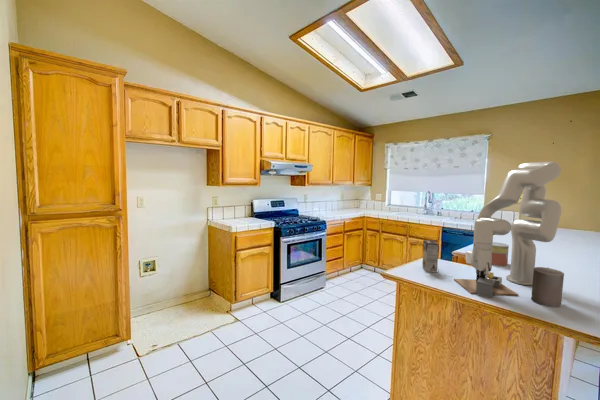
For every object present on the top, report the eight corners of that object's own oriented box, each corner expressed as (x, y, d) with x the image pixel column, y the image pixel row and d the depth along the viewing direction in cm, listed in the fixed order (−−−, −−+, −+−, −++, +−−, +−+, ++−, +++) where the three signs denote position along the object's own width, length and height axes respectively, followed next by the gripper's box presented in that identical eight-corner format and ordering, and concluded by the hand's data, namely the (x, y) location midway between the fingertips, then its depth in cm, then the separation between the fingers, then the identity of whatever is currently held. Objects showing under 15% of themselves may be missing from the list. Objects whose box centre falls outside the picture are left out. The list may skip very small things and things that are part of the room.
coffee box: (421, 266, 166) (422, 239, 165) (433, 267, 165) (434, 240, 164) (425, 271, 157) (426, 243, 156) (437, 272, 156) (439, 243, 155)
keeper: (478, 289, 132) (479, 277, 132) (494, 293, 128) (495, 280, 128) (475, 294, 127) (476, 281, 126) (491, 298, 123) (492, 284, 123)
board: (495, 282, 142) (496, 280, 142) (518, 296, 125) (518, 294, 125) (454, 280, 144) (454, 278, 144) (470, 293, 127) (470, 292, 127)
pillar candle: (525, 297, 124) (527, 264, 122) (545, 296, 124) (548, 263, 123) (545, 308, 114) (549, 272, 113) (568, 307, 115) (571, 271, 113)
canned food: (508, 267, 166) (509, 247, 165) (485, 264, 172) (486, 244, 171) (507, 262, 175) (508, 243, 174) (485, 259, 181) (486, 241, 180)
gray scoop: (485, 280, 142) (485, 274, 142) (501, 283, 137) (502, 277, 137) (477, 290, 129) (477, 283, 129) (495, 294, 125) (495, 287, 125)
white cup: (462, 261, 177) (462, 250, 177) (472, 261, 178) (473, 250, 177) (469, 264, 170) (470, 253, 170) (480, 264, 171) (481, 253, 170)
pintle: (491, 282, 140) (491, 272, 139) (493, 283, 137) (494, 273, 137) (486, 281, 140) (486, 272, 140) (488, 283, 138) (489, 273, 137)
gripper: (466, 241, 140) (464, 277, 142) (482, 249, 126) (480, 289, 127) (482, 242, 139) (480, 278, 141) (500, 249, 125) (498, 290, 126)
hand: (480, 283), depth 134 cm, fingers closed
